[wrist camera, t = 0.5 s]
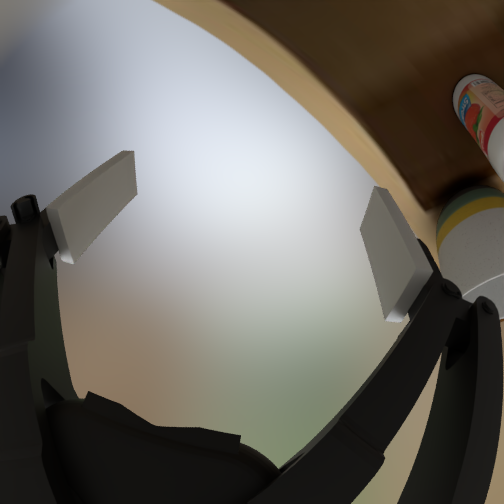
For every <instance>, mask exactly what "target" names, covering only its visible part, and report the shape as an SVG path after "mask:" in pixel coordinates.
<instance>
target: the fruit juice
mask: <svg viewBox="0 0 504 504" xmlns="http://www.w3.org/2000/svg"><path fill="white" fill-rule="evenodd" d="M453 106H454V109H455V112H456V114H457V116H458V118H459V119H460V121H461V122H462V123H463V125H464V126H465V127H466V129H467V130H468V131H469V133H470V134H471V135H472V137H473V138H474V139H475V141H476V142H477V144H478V145H479V147H480V148H481V150H482V151H483V152H484V154H485V155H486V157H487V159H488V160H489V162H490V163H491V165H492V167H493V168H494V170H495V171H496V173H497V174H498V176H499V177H500V178H501V180H502V181H503V182H504V90H503V89H501V88H500V87H499V86H498V85H497V84H496V83H494V82H493V81H492V80H491V79H489V78H487V77H485V76H483V75H478V74H472V75H468V76H466V77H464V78H463V79H461V80H460V81H459V83H458V84H457V86H456V88H455V90H454V94H453Z"/></svg>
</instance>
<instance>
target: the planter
mask: <svg viewBox="0 0 504 504" xmlns="http://www.w3.org/2000/svg"><path fill="white" fill-rule="evenodd" d="M436 243H437V252H438V258H439V264H440V270H441V274H442V276H443V278H445V279H448V280H450V281H452V282H453V283H454V284H455V285H456V286H457V287H458V288H459V289H460V291H461V293H462V299H464V300H466V301H469V302H471V303H474V302H475V300H476V299H477V297H479V296H485V297H487V298H488V299H490V300H492V301H493V302H494V304H495V306H496V307H497V309H498V312H499V318H500V319H502V318H504V193H502V192H501V191H499V190H497V189H495V188H493V187H489V186H483V185H477V186H471V187H467V188H465V189H463V190H461V191H459V192H458V193H456V194H455V195H454V196H453V197H452V198H451V199H450V200H449V201H448V202H447V203H446V205H445V206H444V208H443V210H442V212H441V214H440V216H439V219H438V223H437V230H436Z"/></svg>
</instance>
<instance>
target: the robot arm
mask: <svg viewBox="0 0 504 504" xmlns="http://www.w3.org/2000/svg"><path fill="white" fill-rule="evenodd" d="M136 195H137V186H136V173H135V159H134V151H121V152H120V153H118V154H117V155H115V156H114V157H112V158H111V159H109V160H108V161H106V162H105V163H103V164H102V165H100V166H99V167H98V168H96V169H95V170H93V171H92V172H90V173H89V174H88V175H86V176H85V177H84V178H82V179H81V180H80V181H78V182H77V183H76V184H74V185H73V186H72V187H70V188H69V189H68V190H66V191H65V192H64V193H63V194H62V195H60V196H59V197H58V198H56V200H54V201H53V202H52V203H50V204H49V205H48V206H47V207H46V208H45V209H44V210H43V211H41V212H40V210H39V207H38V204H37V199H36V196H35V195H26V196H23V197H21V198H19V199H17V200H16V201H15V202H14V203H12V205H11V209H12V213H13V216H14V219H15V222H16V224H11V225H9V222H8V219H7V216H0V504H351V503H352V502H353V501H354V499H355V498H356V497H357V496H358V495H359V494H360V492H361V491H362V490H363V489H364V488H365V487H366V486H367V484H368V483H369V482H370V481H371V479H372V478H373V477H374V476H375V474H376V473H377V472H378V470H379V469H380V467H381V466H382V464H383V463H384V460H385V457H384V455H383V453H384V451H385V449H386V448H387V446H388V445H389V444H390V442H391V441H392V439H393V438H394V436H395V435H396V433H397V432H398V430H399V429H400V427H401V426H402V424H403V423H404V421H405V420H406V418H407V416H408V415H409V413H410V411H411V410H412V408H413V406H414V405H415V403H416V401H417V399H418V398H419V396H420V394H421V392H422V390H423V389H424V387H425V385H426V383H427V381H428V379H429V377H430V375H431V373H432V371H433V369H434V367H435V365H436V363H437V361H438V359H439V357H440V354H441V352H442V356H441V362H440V368H439V373H438V379H437V384H436V389H435V393H434V398H433V402H432V406H431V410H430V414H429V418H428V421H427V425H426V429H425V432H424V435H423V438H422V442H421V445H420V448H419V451H418V454H417V456H416V459H415V462H414V465H413V467H412V470H411V472H410V475H409V477H408V480H407V482H406V485H405V487H404V489H403V491H402V494H401V496H400V498H399V501H398V503H397V504H484V503H485V500H486V497H487V493H488V490H489V486H490V482H491V478H492V473H493V469H494V464H495V459H496V454H497V448H498V441H499V435H500V426H501V416H502V402H503V354H502V338H501V327H500V318H499V312H498V309H497V307H496V306H495V304H494V302H493V301H492V300H490V299H488V298H487V297H485V296H479V297H477V299H476V300H475V302H474V303H471V302H469V301H466V300H464V299H462V293H461V291H460V289H459V288H458V287H457V286H456V285H455V284H454V283H453V282H452V281H450V280H448V279H445V278H443V276H442V274H441V272H440V270H439V268H438V266H437V264H436V262H435V261H434V259H433V257H432V255H431V253H430V251H429V249H428V247H427V246H426V245H425V244H424V243H423V242H422V241H421V240H420V239H418V238H416V237H415V235H414V233H413V231H412V230H411V228H410V226H409V224H408V223H407V221H406V219H405V217H404V216H403V214H402V212H401V211H400V209H399V207H398V206H397V204H396V203H395V201H394V199H393V198H392V196H391V195H390V193H389V191H388V190H387V189H384V188H381V187H377V186H374V189H373V192H372V195H371V198H370V201H369V204H368V207H367V210H366V214H365V216H364V219H363V221H362V224H361V227H360V231H361V235H362V238H363V241H364V244H365V247H366V251H367V254H368V258H369V261H370V264H371V268H372V272H373V275H374V279H375V282H376V286H377V290H378V294H379V298H380V302H381V306H382V310H383V314H384V318H385V321H390V322H401V321H402V320H403V319H404V317H405V316H406V314H407V313H408V315H409V318H410V321H409V323H408V324H407V325H406V327H405V328H404V329H403V331H402V332H401V333H400V335H399V336H398V338H397V340H396V342H395V343H394V344H393V346H392V347H391V348H390V350H389V351H388V353H387V354H386V355H385V357H384V358H383V360H382V361H381V362H380V363H379V365H378V366H377V367H376V369H375V370H374V371H373V372H372V374H371V375H370V376H369V378H368V379H367V380H366V381H365V382H364V384H363V385H362V386H361V387H360V389H359V390H358V391H357V392H356V393H355V394H354V396H353V397H352V398H351V399H350V400H349V401H348V402H347V404H346V405H345V406H344V407H343V408H342V409H341V410H340V411H339V413H338V414H337V415H336V416H335V417H334V418H333V419H332V420H331V421H330V422H329V423H328V424H327V425H326V426H325V427H324V428H323V429H322V430H321V431H320V432H319V433H318V434H317V435H316V436H315V437H314V438H313V439H312V440H311V441H310V442H309V443H308V444H307V445H306V446H305V447H304V448H303V449H301V450H300V451H299V452H298V453H297V454H296V455H294V456H293V457H292V458H291V459H290V460H289V461H287V462H286V463H285V464H284V465H283V466H281V467H280V468H279V469H278V468H277V467H276V466H275V465H274V464H273V463H272V462H271V461H270V460H269V459H268V458H267V457H265V456H264V455H263V454H261V453H260V452H258V451H257V450H255V449H253V448H251V447H249V446H247V445H245V444H242V443H240V439H241V435H235V434H229V433H224V432H218V431H214V430H209V429H204V428H200V427H162V426H155V425H153V424H151V423H149V422H147V421H146V420H144V419H143V418H141V417H139V416H137V415H136V414H135V413H133V412H132V411H130V410H129V409H127V408H126V407H124V406H123V405H121V404H119V403H117V402H114V401H111V400H109V399H106V398H104V397H101V396H99V395H97V394H94V393H92V392H90V391H88V393H87V395H86V398H85V399H79V398H78V396H77V394H76V392H75V390H74V388H73V385H72V382H71V377H70V372H69V368H68V363H67V358H66V352H65V347H64V340H63V334H62V327H61V319H60V310H59V301H58V288H57V268H56V260H55V257H54V255H55V253H56V252H57V251H58V250H59V253H60V256H61V259H62V261H64V262H68V263H72V264H75V262H76V261H77V260H78V259H79V257H80V256H81V255H82V254H83V252H84V251H85V250H86V249H87V248H88V247H89V246H90V244H91V243H92V242H93V241H94V240H95V239H96V238H97V236H98V235H99V234H100V233H101V232H102V231H103V230H104V229H105V228H106V226H107V225H108V224H109V223H110V222H111V221H112V220H113V219H114V218H115V217H116V215H118V214H119V212H120V211H121V210H122V209H123V208H124V207H125V206H126V205H127V204H128V203H129V202H130V201H131V200H132V199H133V198H134V197H135V196H136Z"/></svg>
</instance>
